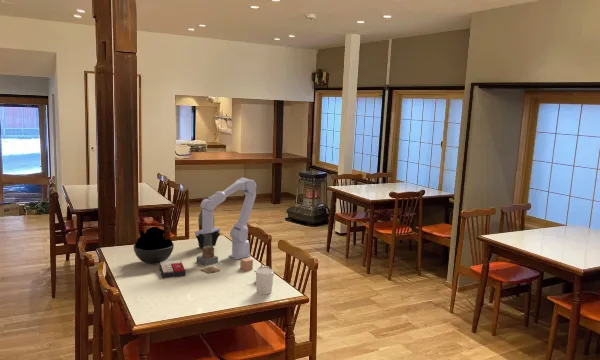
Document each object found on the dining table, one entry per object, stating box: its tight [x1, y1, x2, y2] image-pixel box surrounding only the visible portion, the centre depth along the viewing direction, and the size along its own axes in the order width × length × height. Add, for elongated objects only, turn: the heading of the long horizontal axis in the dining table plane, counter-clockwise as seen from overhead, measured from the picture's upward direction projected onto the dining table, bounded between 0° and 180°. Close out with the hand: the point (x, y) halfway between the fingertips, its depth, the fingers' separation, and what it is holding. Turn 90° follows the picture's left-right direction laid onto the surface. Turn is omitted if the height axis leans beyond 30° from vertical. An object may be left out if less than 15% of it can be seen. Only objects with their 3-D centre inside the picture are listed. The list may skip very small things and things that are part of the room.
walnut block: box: [201, 246, 215, 258], centre depth 251 cm, size 4×4×5 cm
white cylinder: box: [255, 268, 275, 296], centre depth 213 cm, size 8×8×10 cm
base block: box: [196, 254, 219, 266], centre depth 252 cm, size 8×8×4 cm
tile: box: [200, 265, 221, 274], centre depth 240 cm, size 7×7×1 cm
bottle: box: [197, 196, 215, 250], centre depth 276 cm, size 9×9×30 cm
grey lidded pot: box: [254, 263, 275, 276], centre depth 228 cm, size 9×8×10 cm
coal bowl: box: [133, 226, 175, 265], centre depth 246 cm, size 20×20×19 cm
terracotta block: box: [239, 257, 254, 272], centre depth 244 cm, size 4×4×5 cm
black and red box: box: [158, 259, 187, 279], centre depth 235 cm, size 11×4×15 cm
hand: (207, 246), depth 251 cm, fingers open, 7 cm apart
